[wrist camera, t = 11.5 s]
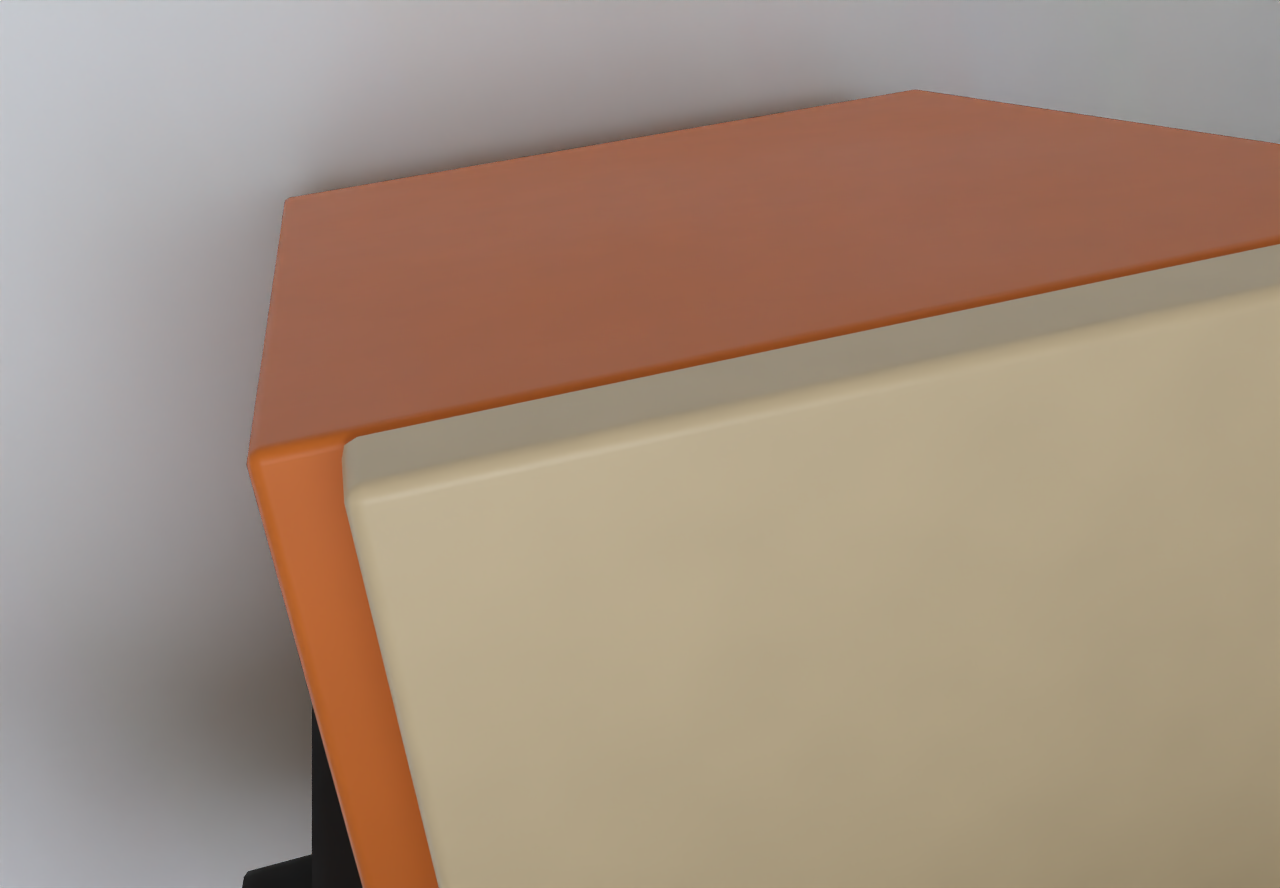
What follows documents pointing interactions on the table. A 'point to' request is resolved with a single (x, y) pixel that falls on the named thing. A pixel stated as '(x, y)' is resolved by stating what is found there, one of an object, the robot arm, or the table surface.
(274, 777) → the table surface
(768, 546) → the orange cream block
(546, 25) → the table surface
